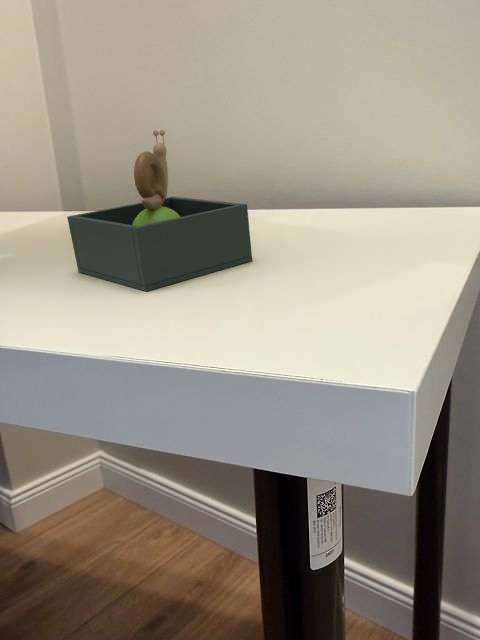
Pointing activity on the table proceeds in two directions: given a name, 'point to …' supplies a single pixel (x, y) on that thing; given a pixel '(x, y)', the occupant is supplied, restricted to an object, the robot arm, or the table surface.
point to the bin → (161, 242)
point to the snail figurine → (153, 184)
